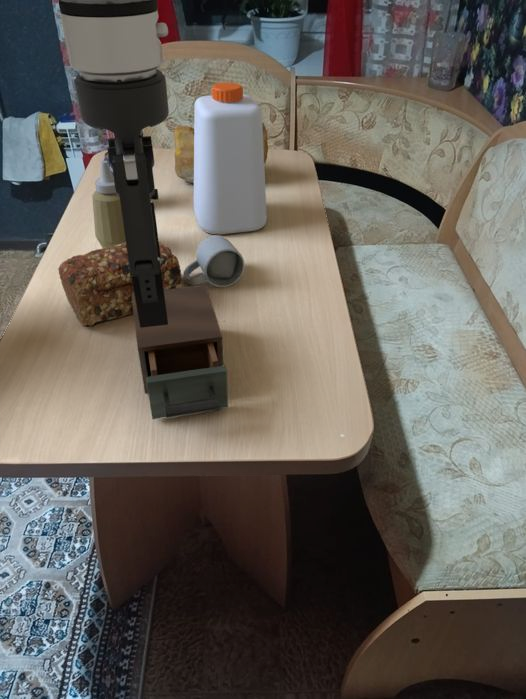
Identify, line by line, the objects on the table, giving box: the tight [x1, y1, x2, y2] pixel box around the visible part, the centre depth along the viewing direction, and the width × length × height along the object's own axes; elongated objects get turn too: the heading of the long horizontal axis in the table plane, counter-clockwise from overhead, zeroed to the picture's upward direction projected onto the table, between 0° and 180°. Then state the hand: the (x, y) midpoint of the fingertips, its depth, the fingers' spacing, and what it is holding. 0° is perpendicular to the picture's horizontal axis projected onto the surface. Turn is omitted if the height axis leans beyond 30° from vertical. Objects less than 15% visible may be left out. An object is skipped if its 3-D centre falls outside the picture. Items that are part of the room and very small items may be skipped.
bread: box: [57, 241, 183, 327], centre depth 94 cm, size 19×11×10 cm, turn 122°
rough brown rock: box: [173, 121, 269, 185], centre depth 138 cm, size 23×17×15 cm
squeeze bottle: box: [92, 160, 126, 249], centre depth 105 cm, size 8×8×18 cm
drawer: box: [146, 342, 229, 420], centre depth 76 cm, size 16×10×7 cm, turn 14°
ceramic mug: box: [183, 234, 245, 288], centre depth 101 cm, size 11×8×8 cm
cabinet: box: [131, 284, 224, 395], centre depth 82 cm, size 14×12×9 cm
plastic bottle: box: [193, 81, 268, 235], centre depth 113 cm, size 15×15×28 cm
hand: (151, 287), depth 59 cm, fingers open, 13 cm apart
